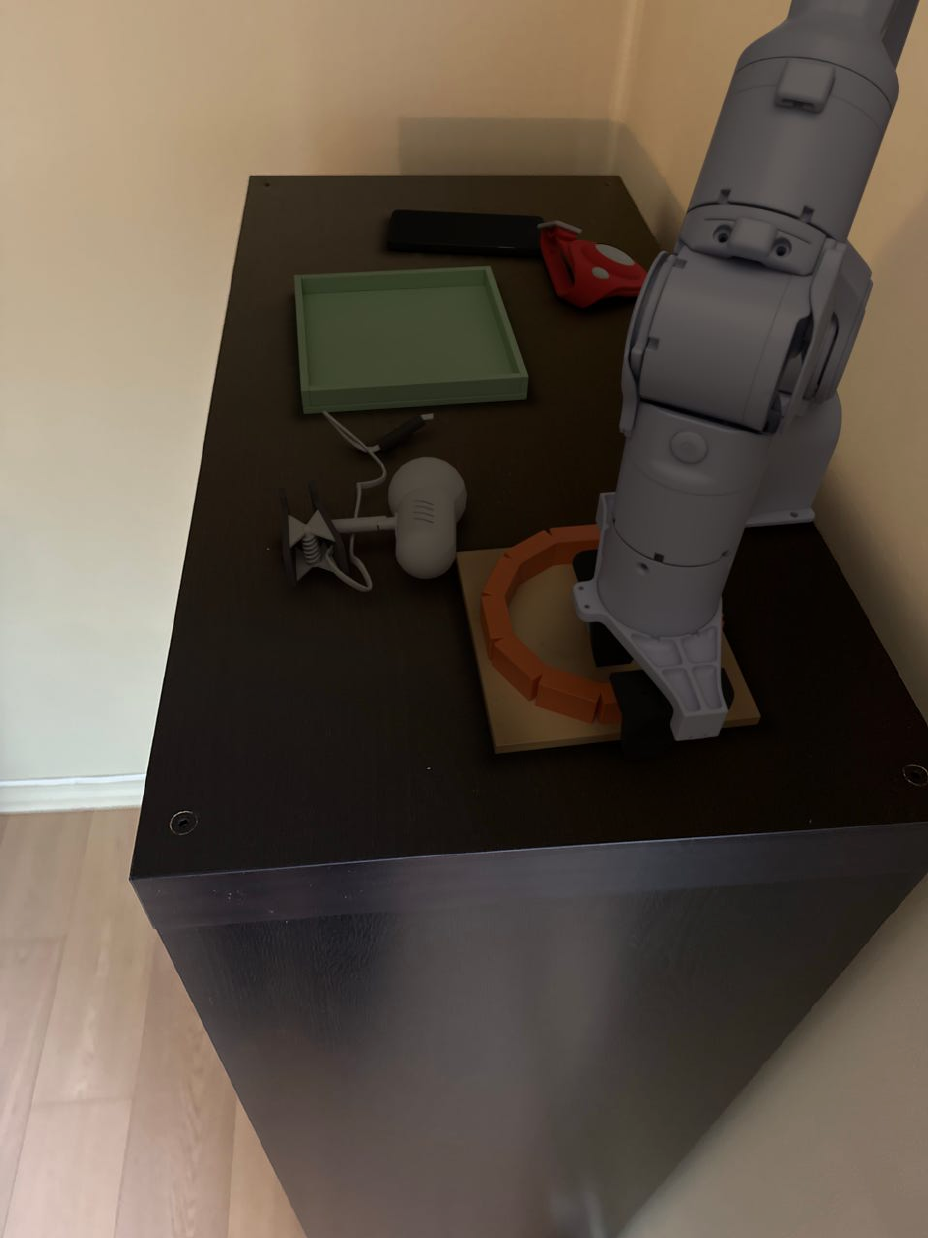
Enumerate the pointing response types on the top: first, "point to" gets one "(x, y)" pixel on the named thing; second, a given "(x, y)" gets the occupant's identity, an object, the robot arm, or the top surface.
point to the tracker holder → (587, 266)
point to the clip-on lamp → (419, 504)
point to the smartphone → (465, 232)
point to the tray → (405, 340)
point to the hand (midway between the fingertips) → (626, 705)
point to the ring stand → (554, 659)
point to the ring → (514, 656)
